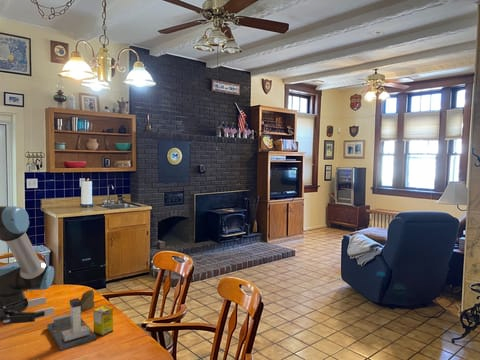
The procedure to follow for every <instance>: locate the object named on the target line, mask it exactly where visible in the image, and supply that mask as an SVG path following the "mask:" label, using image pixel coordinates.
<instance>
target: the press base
mask: <svg viewBox="0 0 480 360" xmlns="http://www.w3.org/2000/svg"><path fill="white" fill-rule="evenodd" d="M85 325H87V327H88V328H89V329H90V335H87V336H84V337H80V338H77V339H73V340H70V341H66V342H64V340H63V339H62V331H66V330H70V329H71V314H70V313H67V314H62V315H58V316H55V317H52V322H51V323H47V324H46V329H47V331H48V333H49V334H50V336H51V337H52V338H53V341H54V342H55V345H57V347H58V349H59V351H64V350H66V349H70V348H74V347H77V346H81V345H83V344H88V343H91V342H94V341H96V340H97V336H96V335H97V334H95V333H94V330H92V329H91V328H90V327H89V325H88V324H87V323H86V322H85V321H84V319H83V318H82V317H81V326H85Z"/></svg>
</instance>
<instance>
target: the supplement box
mask: <svg viewBox="0 0 480 360" xmlns="http://www.w3.org/2000/svg"><path fill="white" fill-rule="evenodd" d="M113 309H114V308H113V307H111V306H107V305H101V306H99V307H97V308H94V309H93V310H92V311H93V333H94V334H95V335H97V336H100V337H104V336H107V335H108V334H110V333H113V332H114V311H113Z"/></svg>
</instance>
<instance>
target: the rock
mask: <svg viewBox="0 0 480 360" xmlns="http://www.w3.org/2000/svg"><path fill="white" fill-rule="evenodd" d="M80 301H81V312H84V311H87V310H90V309H92V308H94V307H95V293H94V290H93V289H89V290H87V291H85V292H83V293H82V295H81V298H80Z"/></svg>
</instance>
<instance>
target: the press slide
mask: <svg viewBox="0 0 480 360" xmlns="http://www.w3.org/2000/svg"><path fill="white" fill-rule="evenodd" d="M80 300H81V298H78V297H77V298H71V299H69V308H70V313H69V314H71V329H70V330H66V331H62V339H63V340H64V342H66V341H70V340H73V339H77V338H80V337H84V336H87V335H90V329H91V328H90V327H89V326H88V324H87V325H85V326H81V318H82V315H81V314H82V313H81V301H80ZM87 326H88V327H89V328H90V329H89V328H88V327H87Z"/></svg>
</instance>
